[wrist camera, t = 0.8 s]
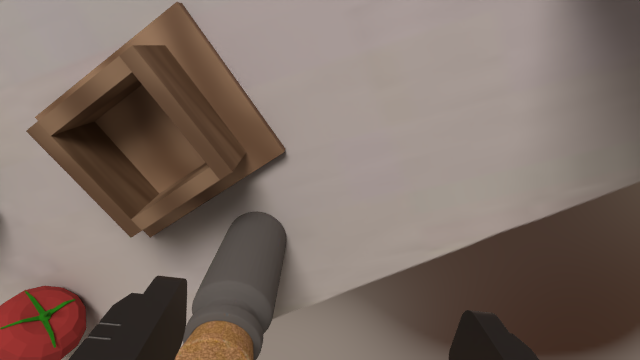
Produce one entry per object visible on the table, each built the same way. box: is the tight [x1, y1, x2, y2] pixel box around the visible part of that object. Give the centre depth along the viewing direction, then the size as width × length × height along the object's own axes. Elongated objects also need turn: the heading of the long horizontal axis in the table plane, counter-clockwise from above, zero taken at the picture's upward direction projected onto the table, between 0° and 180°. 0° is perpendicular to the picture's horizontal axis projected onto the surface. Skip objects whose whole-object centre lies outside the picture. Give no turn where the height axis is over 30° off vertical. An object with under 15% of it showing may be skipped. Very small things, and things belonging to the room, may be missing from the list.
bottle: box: [175, 212, 286, 360], centre depth 27 cm, size 6×6×15 cm
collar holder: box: [27, 2, 285, 237], centre depth 27 cm, size 16×14×6 cm
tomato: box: [0, 286, 86, 360], centre depth 34 cm, size 8×8×8 cm
